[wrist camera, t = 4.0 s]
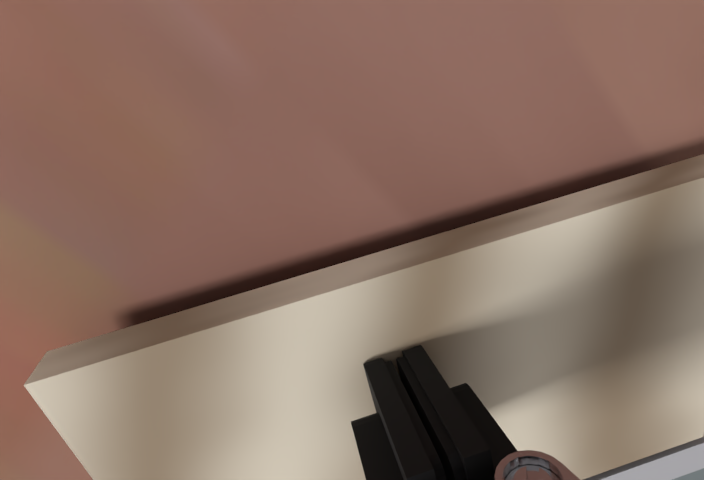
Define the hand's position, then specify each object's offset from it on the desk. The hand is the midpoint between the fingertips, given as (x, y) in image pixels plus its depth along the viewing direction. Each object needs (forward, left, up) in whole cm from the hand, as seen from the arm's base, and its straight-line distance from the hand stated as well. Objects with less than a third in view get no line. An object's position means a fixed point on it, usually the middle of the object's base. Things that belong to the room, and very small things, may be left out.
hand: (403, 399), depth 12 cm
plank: (-1, +1, -1) cm, 2 cm away
